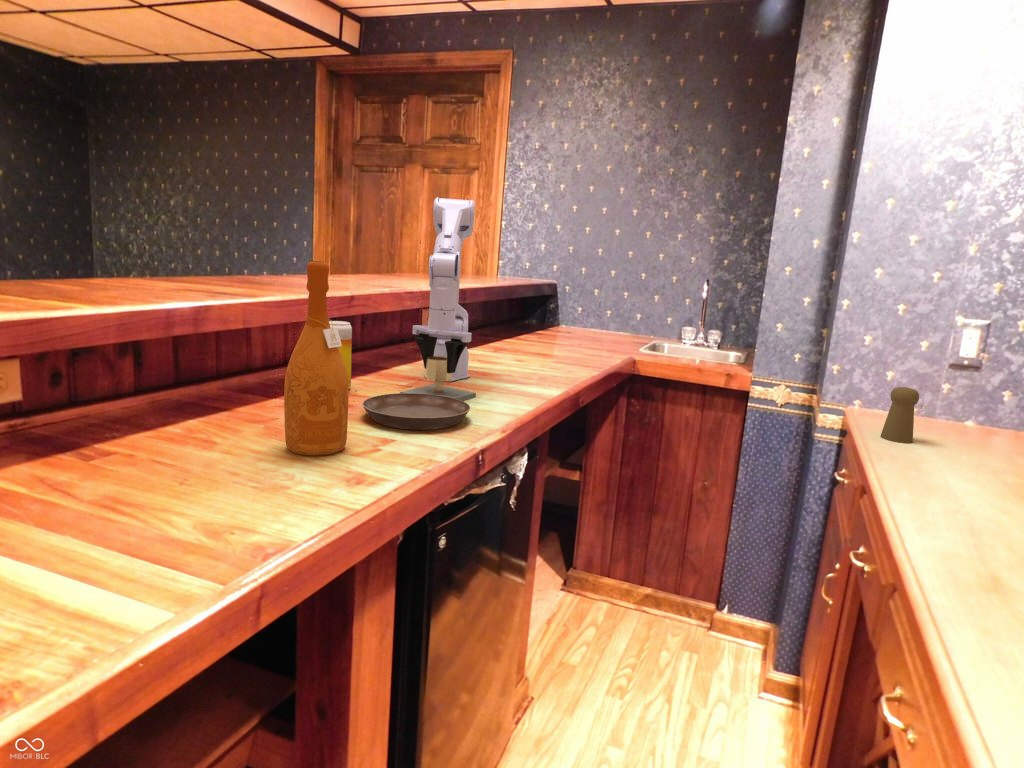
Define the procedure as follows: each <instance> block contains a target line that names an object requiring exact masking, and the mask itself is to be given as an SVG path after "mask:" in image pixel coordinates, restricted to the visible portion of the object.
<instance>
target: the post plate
mask: <svg viewBox="0 0 1024 768" xmlns="http://www.w3.org/2000/svg"><path fill="white" fill-rule="evenodd" d="M400 393H418V394H431V395H440V396H446V397H451V398H455V399H458V400H461V401H464V402H465V401H467V400H470V399H474V398H476V396H477V393H476V392H473V391H469V390H463V389H459V388H454V387H449V386H445V385H444V381H434V383H433V384H428V385H424V386H423V385H422V386H420V387H416V388H411V389H407V390H402V391H400Z"/></svg>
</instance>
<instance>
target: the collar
mask: <svg viewBox="0 0 1024 768" xmlns="http://www.w3.org/2000/svg"><path fill="white" fill-rule="evenodd" d="M424 375H425V377H424V378H426V380H427V381H428V380H429V381H433V382H435V381H443V382H447V381H450V380H452V373H447V357H444V356H429V357H427V359H426V369H425V374H424Z"/></svg>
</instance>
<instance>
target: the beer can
mask: <svg viewBox="0 0 1024 768" xmlns="http://www.w3.org/2000/svg"><path fill="white" fill-rule="evenodd" d="M331 321H332V322H331ZM331 321H330V320H329V324H330V327H331V328H332V323H333V328H337V329H338V333H339V336H340V340H341V344H342V346H339V349H340V352H341V354H342V357H343V360H344V363H345V366H346V370H347V375H348V387H349V389H350V388H351V387H352V349H353V347H352V345H353V343H352V342H353V327H352V325H351V322H348V321H343V320H331Z"/></svg>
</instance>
